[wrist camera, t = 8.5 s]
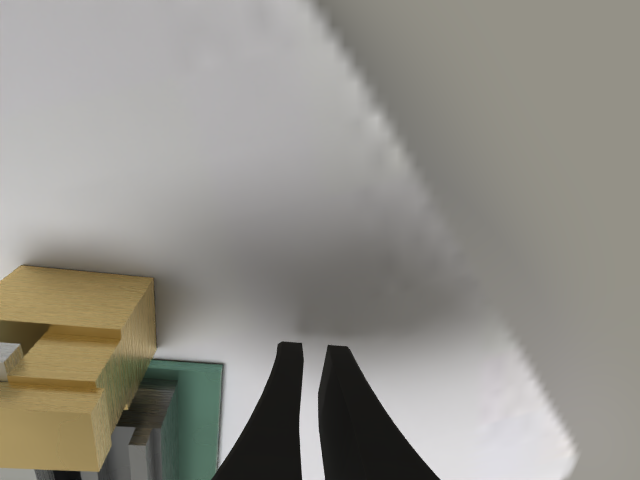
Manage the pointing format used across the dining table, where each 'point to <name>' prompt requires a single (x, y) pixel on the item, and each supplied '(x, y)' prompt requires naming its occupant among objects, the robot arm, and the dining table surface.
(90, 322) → the clip
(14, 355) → the grey long flat bar
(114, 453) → the block
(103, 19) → the dining table surface
